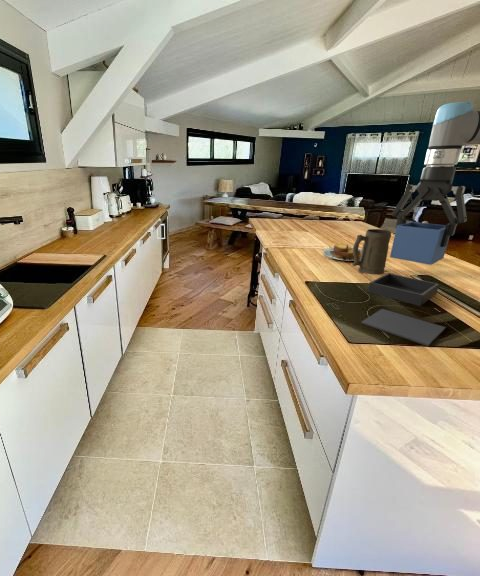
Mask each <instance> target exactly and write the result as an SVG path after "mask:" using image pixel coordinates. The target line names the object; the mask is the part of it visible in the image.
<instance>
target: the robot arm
mask: <svg viewBox="0 0 480 576" xmlns="http://www.w3.org/2000/svg"><path fill="white" fill-rule="evenodd" d="M474 145H476V146H477V145H479V146H480V110H474V103H473V102H472V101H456V102H450V103H445V104H443V105H441V106H439V107H438V109H437V111H436V114H435V116H434V120H433V123H432V128H431V133H430V137H429V143H428V147H427V150H426V154H425V159H424V164H423V165H424V167H423V168H422V171H421V175H420V180H419V183H418V184H415V185H414V184H407V185H406V186H405V189H404V193H403V195H402V196H401V198H400V200H399V201H398V203H397V204H396V206H395V208H394V209H393V210H392V213H391V216H392V217H394V218H396V223H395V229H396V228H397V225H401V224H404V223H407V220H408V218H406V217H407V216H408V215H409V213H411V212H412V210H414V209H415V208H416V207H417V206H418V205H419V204H420V203H421V202H422V201H432V202H435V201H437V202H439V203H440V205H441V207H442V209H443V211H444V214H445V215H446V218H447V219H448V221H449V223H446V224H445V225H446V227H445V231H444V235H443V239H442V242H441V246H440V247H445V246H446V245H447V246H448V244H447V241H448V238H449V239H450V237H452V236H454V235H455V233H456V229H457V226H458V224H463V223H466V222H467V220H468V217H467V209H466V204H465V196H464V194H465V191H466V186H464V185H461V186H454V185H453V181H454V178H455V174H456V170H457V167H456V166H455V165H458V163H459V159H460V155H461V151H462V148H463V147H464V146H474ZM416 191H417V193H418V194H417V195H416V197H415V198H414V199H413V200H412V201H411V202H410V204H408V205H407V206H406V204H407V202H408V200H409V199H410V197H411V196H412V195H413V193H414V192H416ZM450 192H453V195H455V197H454V198H455V203H456V211H457V215H456V213H455V211H454V209H453V207H452V204H451V203H450V201H449V200H450V199H449V198H448V194H449V193H450ZM405 206H406V207H405ZM404 207H405V208H404ZM403 208H404V209H403ZM449 236H450V237H449ZM448 242H449V241H448Z"/></svg>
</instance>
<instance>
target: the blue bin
mask: <svg viewBox="0 0 480 576" xmlns="http://www.w3.org/2000/svg"><path fill="white" fill-rule="evenodd" d="M445 227H446V224H438V223H437V224H436V223H429V222H428V223H422V222H419V221H409V222H406V223H404V224H401V225H397V228H396V227H395V233H394V237H393V241H392V245H391V250H390V255H389V258H392V259H396V260H402V261H407V262H413V263H419V264H423V265H430V266H431V265H434V264H436V263H437V262H439V261H441V260H443V259H444V258H445V254H446V252H447V251H446V250H447V247H448V244H449V241H450V237H451V236H449V238H448V241H447V245H446V246H445V247H440V246H441V242H442V239H443V235H444V231H445Z"/></svg>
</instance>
